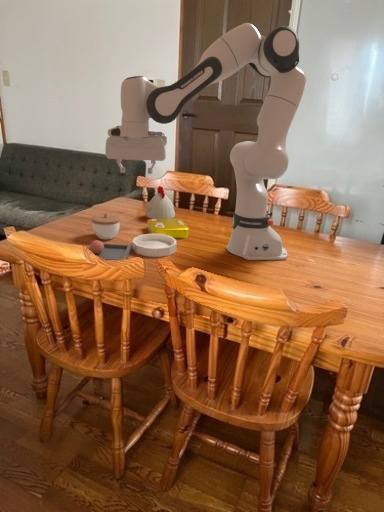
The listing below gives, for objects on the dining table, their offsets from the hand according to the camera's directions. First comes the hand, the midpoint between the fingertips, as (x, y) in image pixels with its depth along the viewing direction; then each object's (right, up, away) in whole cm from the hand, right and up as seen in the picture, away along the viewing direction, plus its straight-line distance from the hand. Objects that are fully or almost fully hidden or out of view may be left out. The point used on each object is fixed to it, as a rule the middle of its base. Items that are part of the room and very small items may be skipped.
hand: (136, 173), depth 121 cm
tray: (-10, -29, -2) cm, 30 cm away
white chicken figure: (+4, -11, +43) cm, 45 cm away
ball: (-13, -26, -3) cm, 29 cm away
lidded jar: (-14, -21, +16) cm, 30 cm away
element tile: (+9, -20, +25) cm, 33 cm away
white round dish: (+6, -26, +7) cm, 28 cm away
